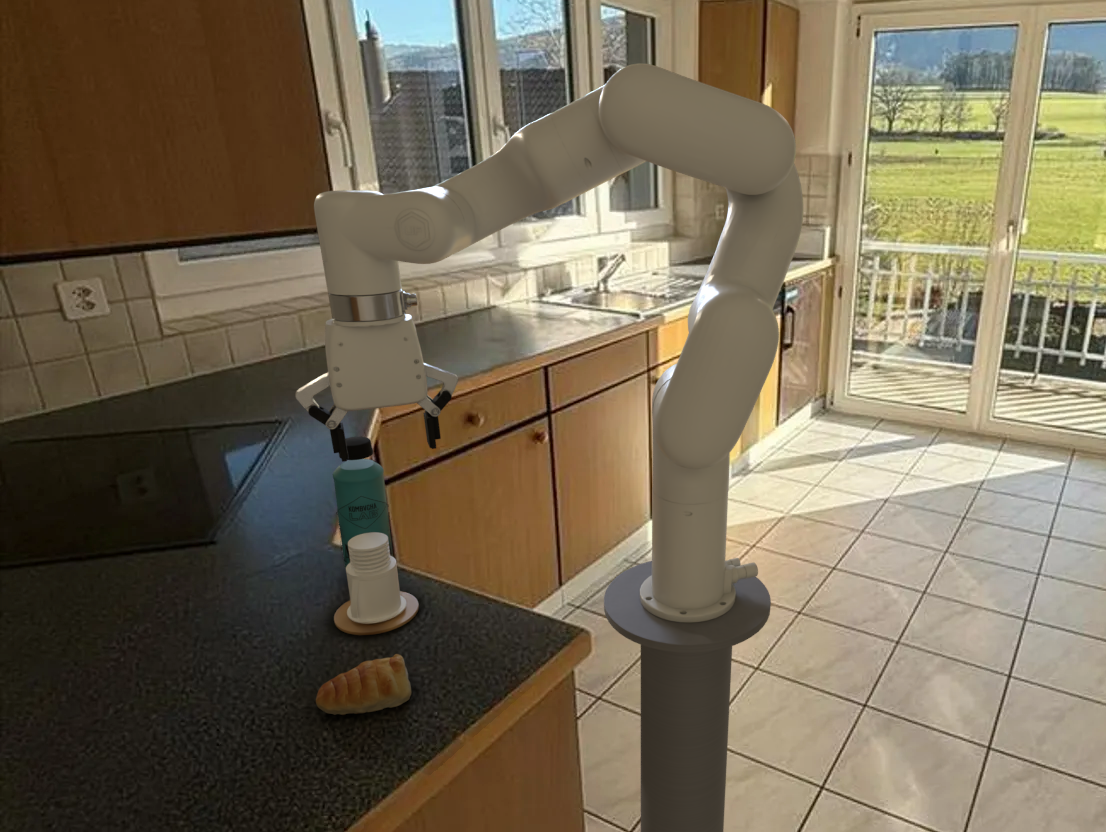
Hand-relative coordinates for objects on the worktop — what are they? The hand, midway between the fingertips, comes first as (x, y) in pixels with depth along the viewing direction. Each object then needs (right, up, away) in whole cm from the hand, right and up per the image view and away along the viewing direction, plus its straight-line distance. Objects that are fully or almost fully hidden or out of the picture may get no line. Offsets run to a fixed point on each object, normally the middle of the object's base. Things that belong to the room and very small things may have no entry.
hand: (389, 451), depth 93 cm
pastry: (+1, -27, -7) cm, 28 cm away
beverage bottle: (-10, -18, +17) cm, 26 cm away
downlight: (-5, -21, +8) cm, 23 cm away
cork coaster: (-5, -21, +8) cm, 23 cm away
